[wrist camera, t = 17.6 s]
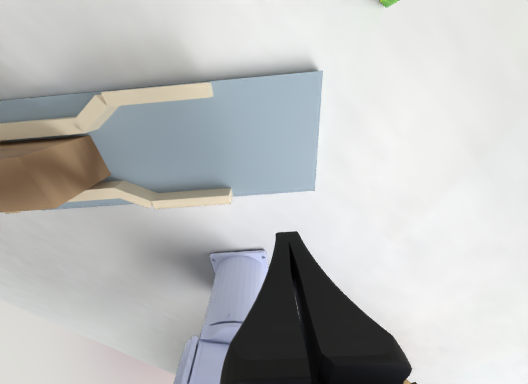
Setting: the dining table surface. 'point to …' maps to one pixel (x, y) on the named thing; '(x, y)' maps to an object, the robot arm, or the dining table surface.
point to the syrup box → (388, 2)
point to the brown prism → (47, 172)
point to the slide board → (185, 138)
